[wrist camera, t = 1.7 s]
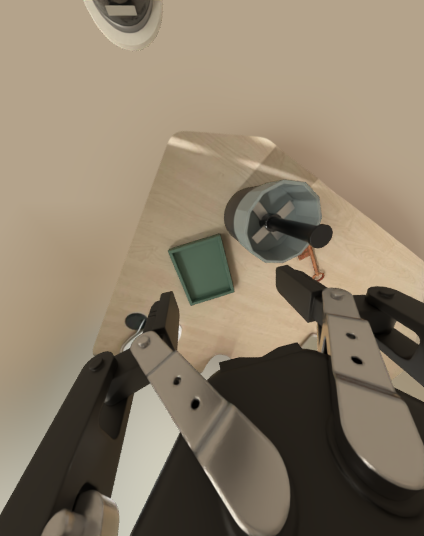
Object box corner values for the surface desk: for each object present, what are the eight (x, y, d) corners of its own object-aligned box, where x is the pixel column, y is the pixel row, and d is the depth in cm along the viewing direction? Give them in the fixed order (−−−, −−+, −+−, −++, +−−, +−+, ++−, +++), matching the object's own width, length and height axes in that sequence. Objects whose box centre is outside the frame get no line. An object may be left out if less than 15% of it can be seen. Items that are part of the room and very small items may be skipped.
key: (294, 248, 46) (306, 285, 52) (296, 249, 45) (308, 286, 51) (314, 238, 45) (324, 277, 51) (316, 239, 44) (326, 278, 50)
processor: (215, 203, 37) (233, 205, 23) (265, 177, 37) (314, 163, 22) (235, 249, 43) (258, 274, 29) (278, 227, 42) (325, 242, 28)
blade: (235, 221, 30) (270, 239, 17) (271, 184, 28) (339, 173, 16) (262, 251, 33) (308, 284, 21) (296, 220, 32) (368, 235, 19)
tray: (168, 248, 40) (167, 251, 38) (219, 233, 40) (220, 235, 39) (190, 301, 48) (190, 305, 46) (232, 288, 48) (234, 292, 46)
